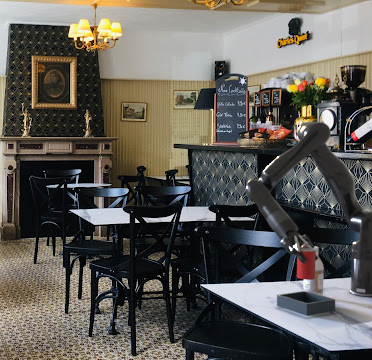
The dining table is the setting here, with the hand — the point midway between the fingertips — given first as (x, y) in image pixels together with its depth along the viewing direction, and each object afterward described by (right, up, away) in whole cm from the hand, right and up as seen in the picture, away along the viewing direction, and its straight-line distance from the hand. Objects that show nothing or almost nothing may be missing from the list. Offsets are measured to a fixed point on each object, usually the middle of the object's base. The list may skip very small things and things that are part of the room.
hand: (310, 261), depth 210 cm
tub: (-1, -18, +2) cm, 18 cm away
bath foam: (+10, -17, +20) cm, 28 cm away
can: (-1, -6, +2) cm, 7 cm away
